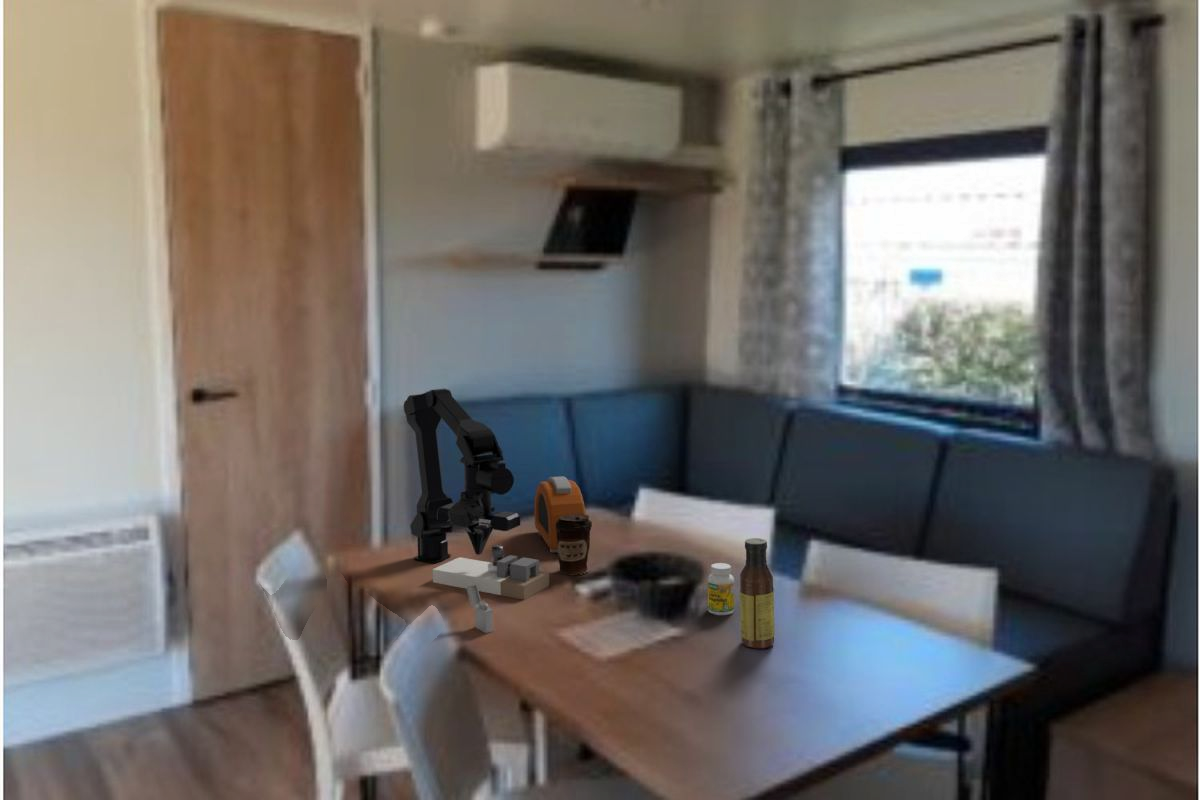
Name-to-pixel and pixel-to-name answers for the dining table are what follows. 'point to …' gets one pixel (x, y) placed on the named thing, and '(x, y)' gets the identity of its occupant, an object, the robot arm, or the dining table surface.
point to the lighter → (480, 610)
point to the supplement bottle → (721, 590)
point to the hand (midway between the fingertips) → (478, 554)
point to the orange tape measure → (555, 506)
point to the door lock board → (494, 576)
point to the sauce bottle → (756, 597)
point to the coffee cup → (573, 543)
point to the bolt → (496, 556)
